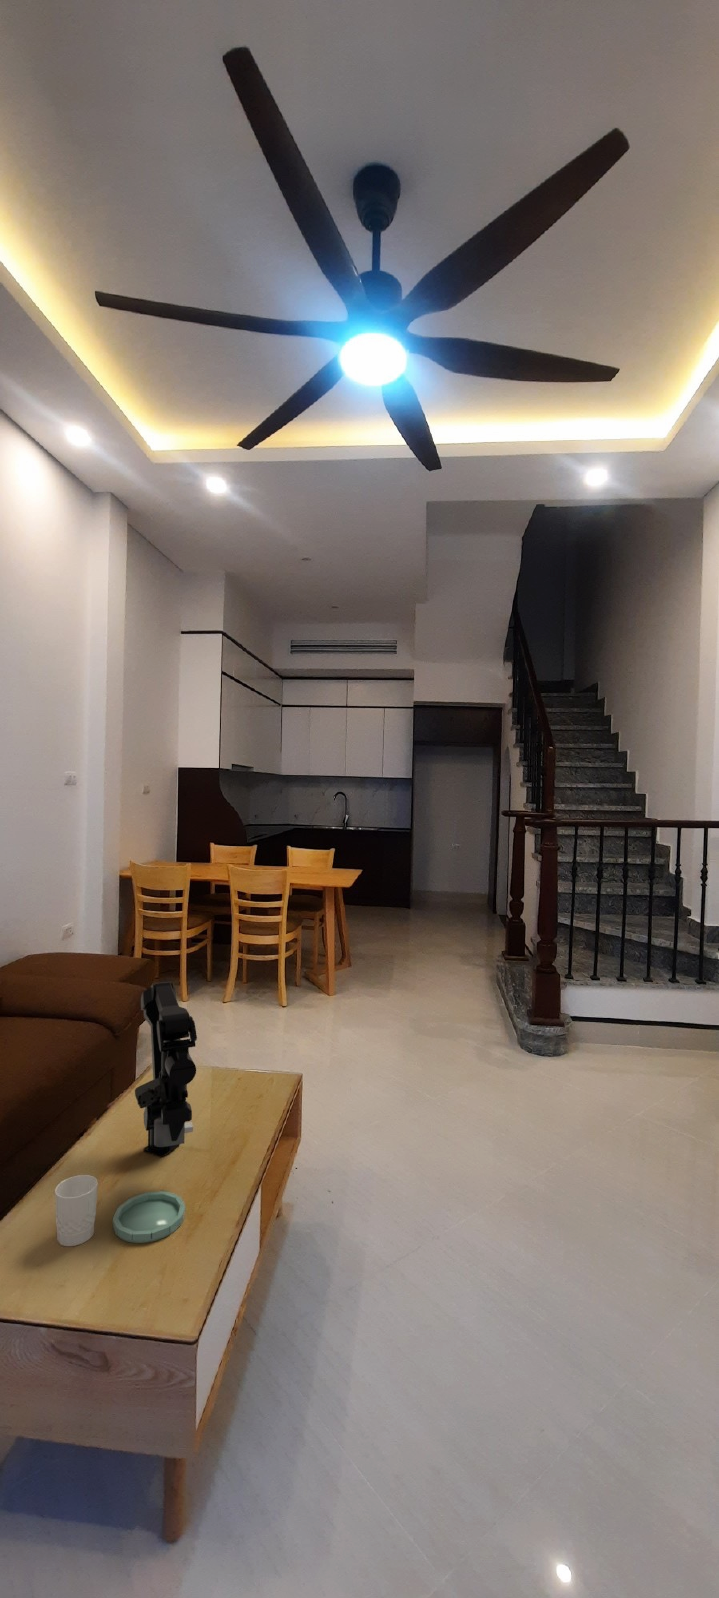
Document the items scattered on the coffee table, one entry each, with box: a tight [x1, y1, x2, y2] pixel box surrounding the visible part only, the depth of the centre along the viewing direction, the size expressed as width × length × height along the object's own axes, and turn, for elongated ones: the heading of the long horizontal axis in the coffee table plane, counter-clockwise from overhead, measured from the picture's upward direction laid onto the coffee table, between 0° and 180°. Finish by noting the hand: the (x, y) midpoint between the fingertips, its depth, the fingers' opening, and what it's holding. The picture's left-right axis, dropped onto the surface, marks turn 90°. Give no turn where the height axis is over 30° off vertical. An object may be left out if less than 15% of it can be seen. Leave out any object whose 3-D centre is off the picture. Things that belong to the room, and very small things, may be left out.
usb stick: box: [154, 1117, 194, 1147], centre depth 149 cm, size 8×4×5 cm, turn 111°
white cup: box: [54, 1174, 99, 1247], centre depth 131 cm, size 8×8×10 cm
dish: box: [112, 1190, 186, 1244], centre depth 136 cm, size 14×14×2 cm
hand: (173, 1136), depth 149 cm, fingers closed on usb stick, 4 cm apart
